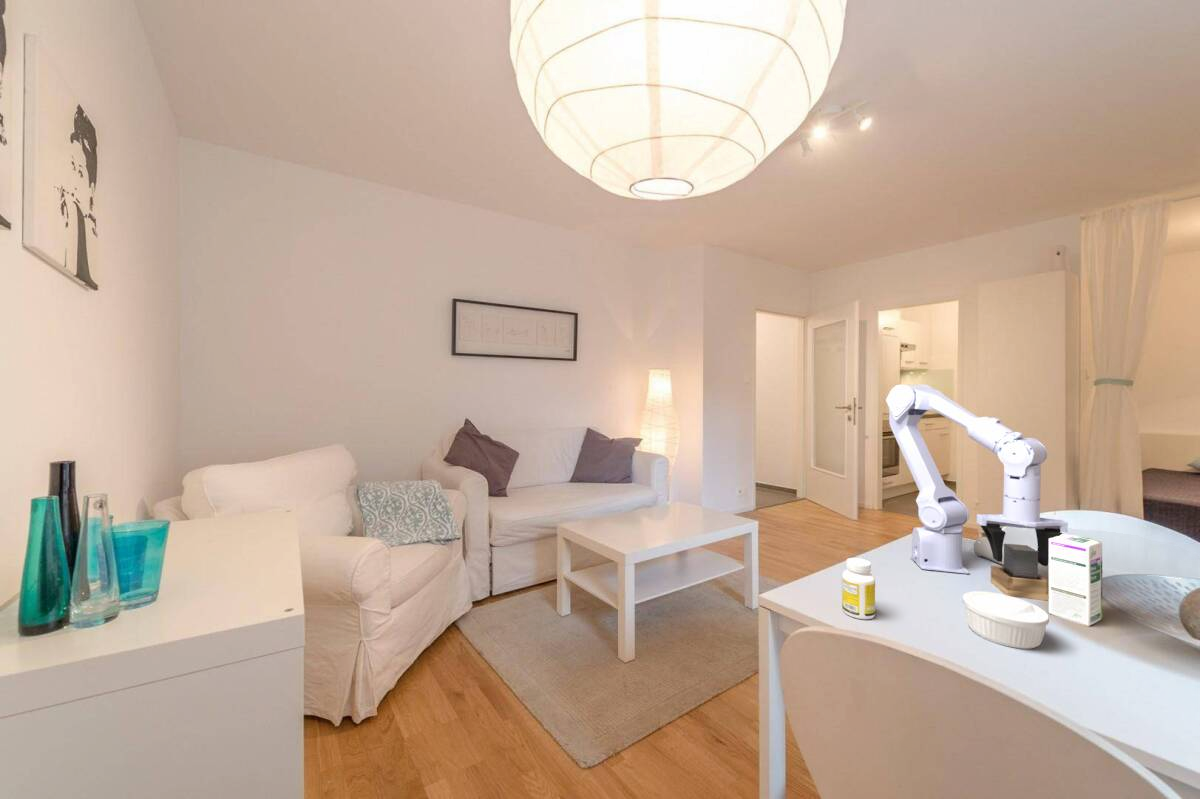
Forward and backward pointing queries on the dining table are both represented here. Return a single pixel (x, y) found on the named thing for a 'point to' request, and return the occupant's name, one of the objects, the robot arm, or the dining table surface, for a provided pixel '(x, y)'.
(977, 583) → the dining table surface
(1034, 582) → the oak dock
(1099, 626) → the dining table surface
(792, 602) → the dining table surface
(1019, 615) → the ramekin
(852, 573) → the supplement bottle
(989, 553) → the tube
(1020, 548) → the matte charcoal brick
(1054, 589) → the syrup box
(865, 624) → the dining table surface
